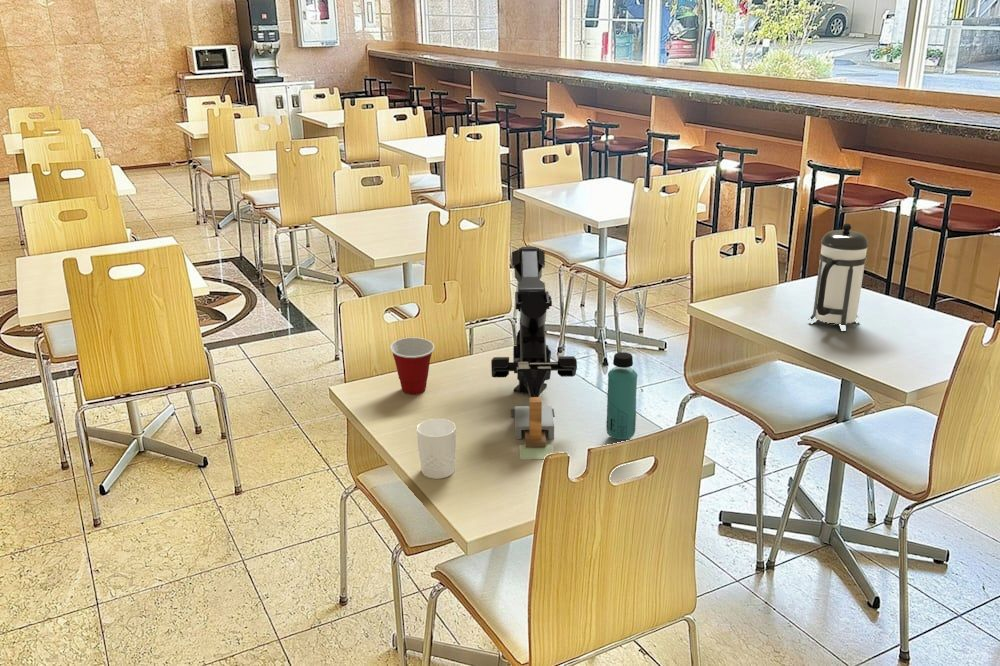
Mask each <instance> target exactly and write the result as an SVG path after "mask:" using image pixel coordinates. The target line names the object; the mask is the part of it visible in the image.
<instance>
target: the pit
mask: <svg viewBox="0 0 1000 666" xmlns="http://www.w3.org/2000/svg"><path fill="white" fill-rule="evenodd" d="M552 413H553V418H555V417H556V416H555V410H554V408H552ZM510 418H513V419H515V408H511V409H510Z"/></svg>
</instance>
